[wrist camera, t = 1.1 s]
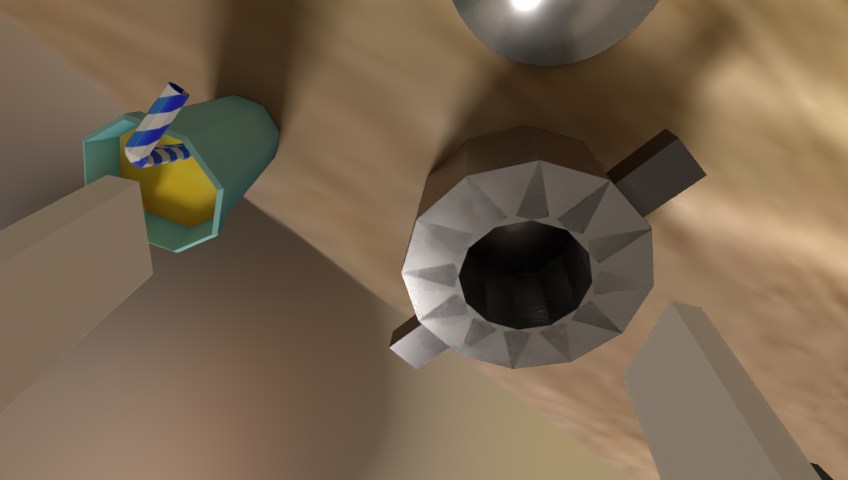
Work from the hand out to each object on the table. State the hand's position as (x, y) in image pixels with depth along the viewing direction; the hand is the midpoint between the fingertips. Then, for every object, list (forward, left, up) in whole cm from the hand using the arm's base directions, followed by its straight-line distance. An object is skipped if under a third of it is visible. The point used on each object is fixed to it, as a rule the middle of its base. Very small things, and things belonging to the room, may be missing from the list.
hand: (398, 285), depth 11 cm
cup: (+4, -13, -21) cm, 26 cm away
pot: (+8, +7, -21) cm, 24 cm away
